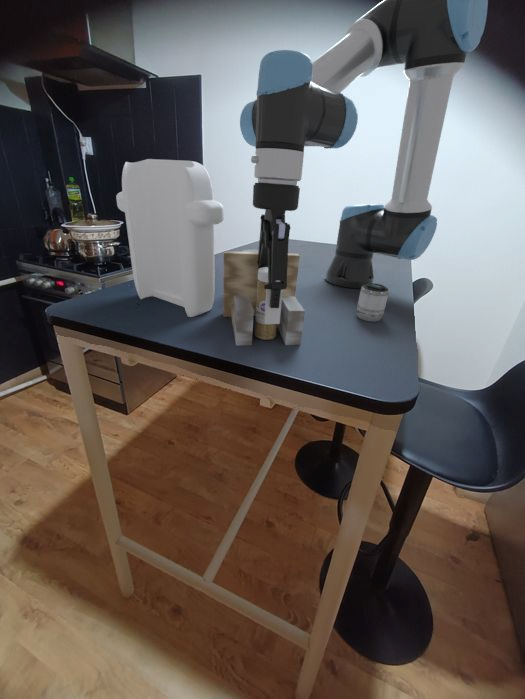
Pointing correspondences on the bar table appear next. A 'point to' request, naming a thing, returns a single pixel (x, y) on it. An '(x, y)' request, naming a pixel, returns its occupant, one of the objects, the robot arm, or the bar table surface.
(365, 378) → the bar table surface
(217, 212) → the white contoured slab
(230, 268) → the headboard stand
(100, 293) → the bar table surface
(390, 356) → the bar table surface
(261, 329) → the sprinkles bottle
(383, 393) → the bar table surface
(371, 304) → the camera lens
